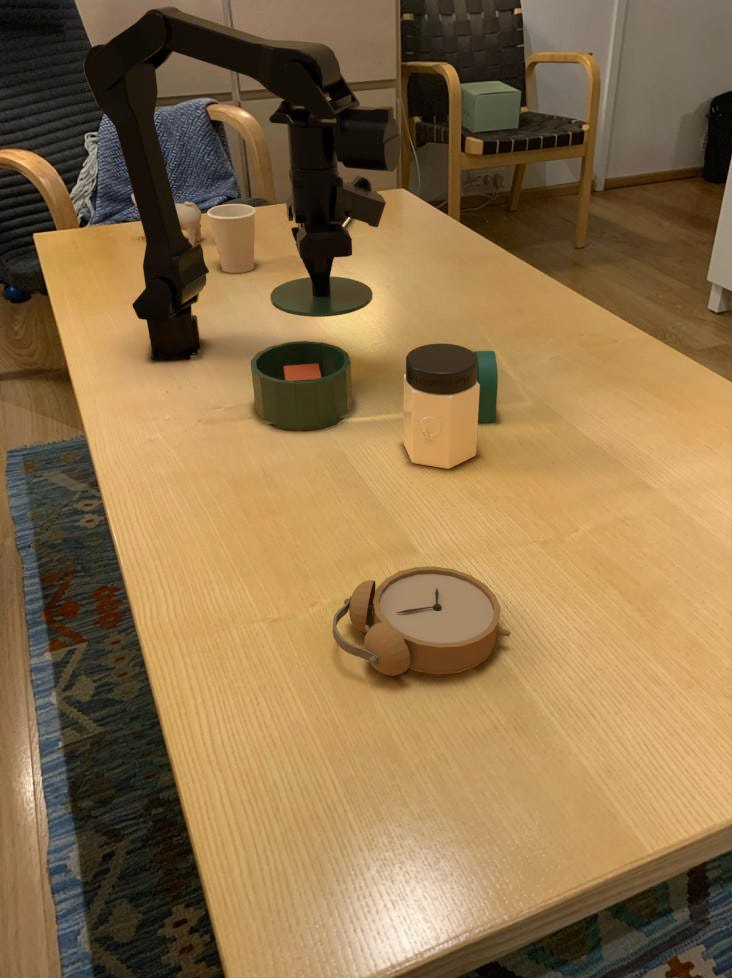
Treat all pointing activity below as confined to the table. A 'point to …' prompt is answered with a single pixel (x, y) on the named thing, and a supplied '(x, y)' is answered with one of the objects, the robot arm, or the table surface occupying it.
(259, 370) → the pot
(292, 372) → the box
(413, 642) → the alarm clock
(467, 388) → the jar
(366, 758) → the table surface
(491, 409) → the bracket
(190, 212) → the dog figurine
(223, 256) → the dixie cup
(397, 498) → the table surface
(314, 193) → the robot arm
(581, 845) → the table surface
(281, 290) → the lid
